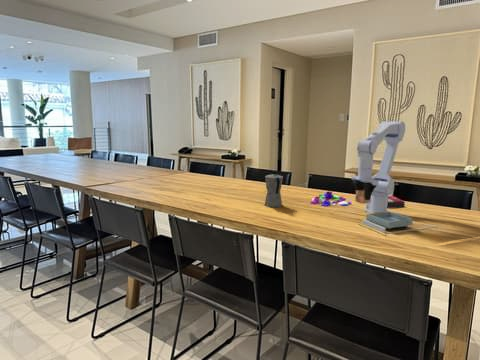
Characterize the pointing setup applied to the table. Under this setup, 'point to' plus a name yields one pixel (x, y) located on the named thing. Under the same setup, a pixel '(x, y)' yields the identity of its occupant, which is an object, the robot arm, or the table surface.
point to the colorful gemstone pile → (329, 200)
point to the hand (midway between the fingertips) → (363, 198)
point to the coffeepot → (273, 190)
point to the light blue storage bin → (389, 219)
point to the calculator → (394, 202)
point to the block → (361, 197)
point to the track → (383, 229)
